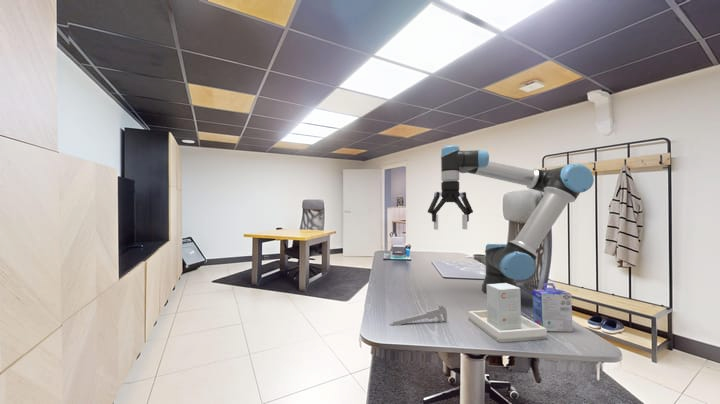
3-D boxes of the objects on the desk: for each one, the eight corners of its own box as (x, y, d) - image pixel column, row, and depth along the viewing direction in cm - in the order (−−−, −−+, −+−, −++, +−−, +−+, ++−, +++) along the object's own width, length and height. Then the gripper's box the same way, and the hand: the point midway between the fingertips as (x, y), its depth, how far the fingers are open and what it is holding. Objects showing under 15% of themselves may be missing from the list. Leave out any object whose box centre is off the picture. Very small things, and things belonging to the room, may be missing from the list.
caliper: (445, 321, 91) (445, 303, 91) (447, 322, 90) (447, 304, 90) (389, 325, 88) (389, 306, 88) (390, 326, 87) (390, 307, 87)
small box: (506, 320, 89) (506, 282, 90) (521, 328, 83) (521, 288, 83) (486, 322, 88) (485, 283, 88) (500, 331, 81) (499, 289, 82)
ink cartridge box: (560, 324, 88) (560, 282, 89) (574, 332, 83) (573, 287, 83) (531, 324, 89) (531, 281, 89) (542, 331, 83) (542, 286, 83)
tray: (508, 317, 94) (508, 308, 94) (546, 338, 78) (546, 328, 79) (468, 319, 92) (468, 311, 92) (499, 342, 76) (499, 332, 76)
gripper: (471, 182, 119) (471, 228, 119) (420, 181, 116) (420, 228, 115) (481, 180, 112) (481, 229, 111) (427, 179, 108) (427, 230, 108)
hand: (450, 229), depth 113 cm, fingers open, 13 cm apart
